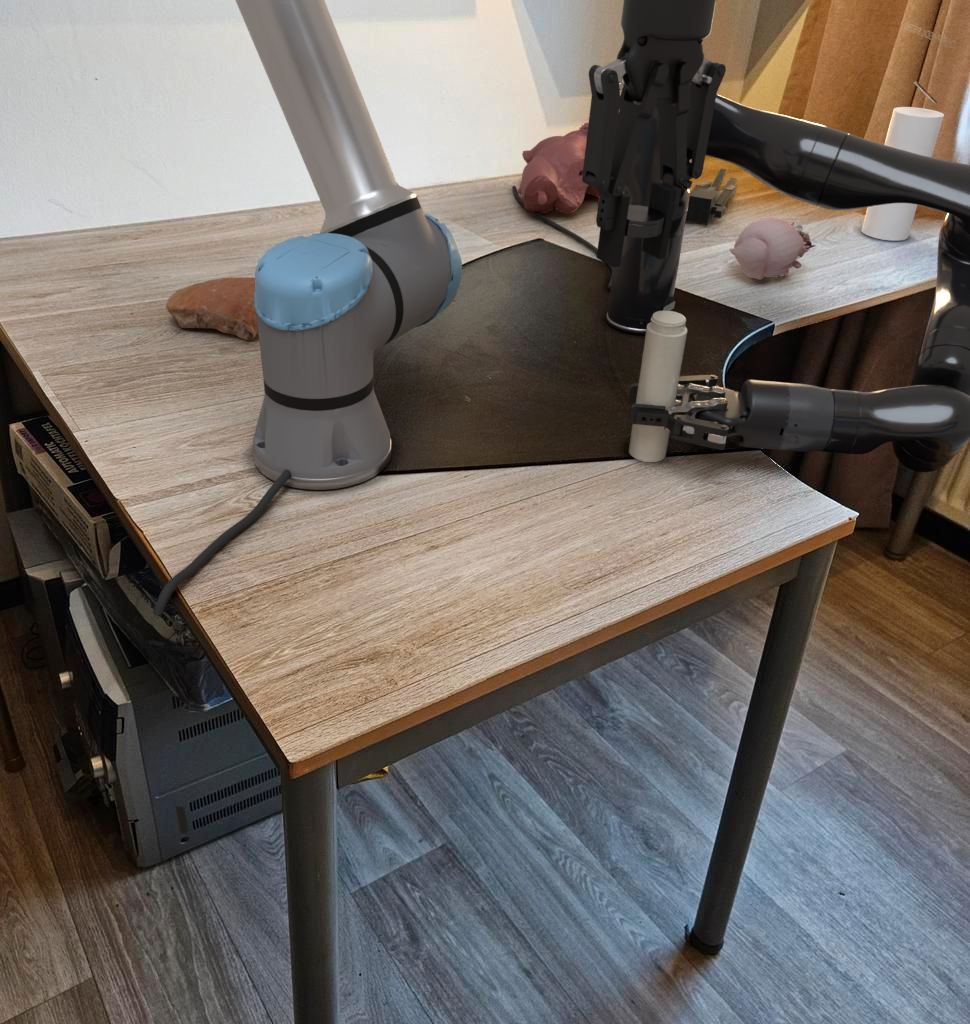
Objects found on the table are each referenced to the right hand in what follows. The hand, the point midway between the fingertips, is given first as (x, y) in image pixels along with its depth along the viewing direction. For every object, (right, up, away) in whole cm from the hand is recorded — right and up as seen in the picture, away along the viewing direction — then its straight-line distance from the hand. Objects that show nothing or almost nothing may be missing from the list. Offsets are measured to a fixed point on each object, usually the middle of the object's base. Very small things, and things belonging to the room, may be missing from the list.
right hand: (630, 403), depth 108 cm
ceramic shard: (-54, +16, +30) cm, 63 cm away
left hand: (-3, +12, -17) cm, 21 cm away
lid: (-2, +15, -19) cm, 24 cm away
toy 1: (+29, +50, +87) cm, 105 cm away
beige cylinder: (+2, -5, +3) cm, 7 cm away
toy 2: (+31, +28, +55) cm, 68 cm away
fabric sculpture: (+1, +49, +84) cm, 97 cm away
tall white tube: (+60, +41, +77) cm, 106 cm away
